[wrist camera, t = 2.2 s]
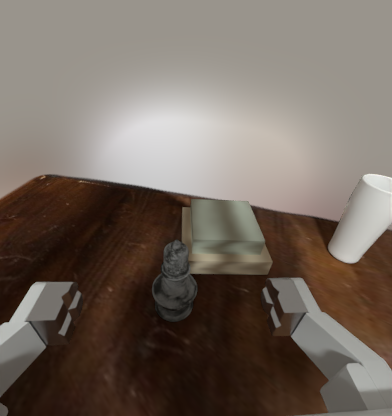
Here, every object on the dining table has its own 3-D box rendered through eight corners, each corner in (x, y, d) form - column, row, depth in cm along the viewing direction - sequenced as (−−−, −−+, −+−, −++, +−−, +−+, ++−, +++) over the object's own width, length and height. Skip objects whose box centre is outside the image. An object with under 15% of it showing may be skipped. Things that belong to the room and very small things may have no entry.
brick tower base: (181, 273, 35) (183, 246, 32) (181, 218, 47) (183, 194, 43) (267, 274, 37) (278, 248, 33) (247, 221, 48) (253, 197, 45)
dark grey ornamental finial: (203, 307, 31) (215, 244, 24) (167, 333, 28) (169, 270, 21) (179, 278, 35) (182, 216, 28) (144, 298, 31) (139, 234, 24)
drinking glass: (323, 236, 46) (360, 169, 37) (361, 249, 43) (409, 181, 35) (321, 258, 41) (363, 186, 32) (363, 274, 38) (421, 201, 30)
